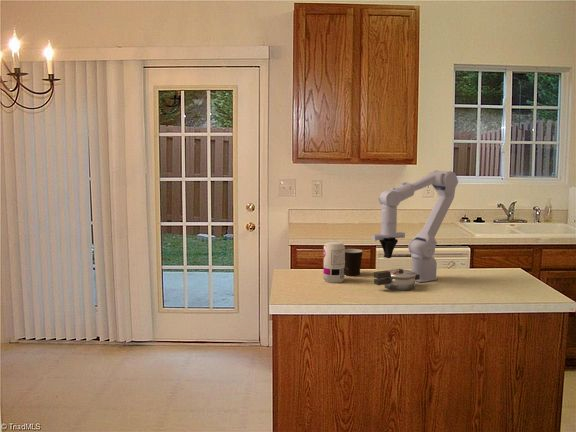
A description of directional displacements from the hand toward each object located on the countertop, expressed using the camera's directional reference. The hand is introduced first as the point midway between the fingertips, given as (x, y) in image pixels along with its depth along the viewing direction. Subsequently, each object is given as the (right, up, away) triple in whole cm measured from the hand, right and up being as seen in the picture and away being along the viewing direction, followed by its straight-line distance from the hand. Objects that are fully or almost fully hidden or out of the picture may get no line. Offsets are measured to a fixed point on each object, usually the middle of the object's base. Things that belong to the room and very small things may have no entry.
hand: (388, 257), depth 202 cm
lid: (+1, -6, -7) cm, 9 cm away
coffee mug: (-12, -8, +16) cm, 22 cm away
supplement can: (-20, -10, +5) cm, 23 cm away
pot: (+2, -11, -5) cm, 12 cm away
